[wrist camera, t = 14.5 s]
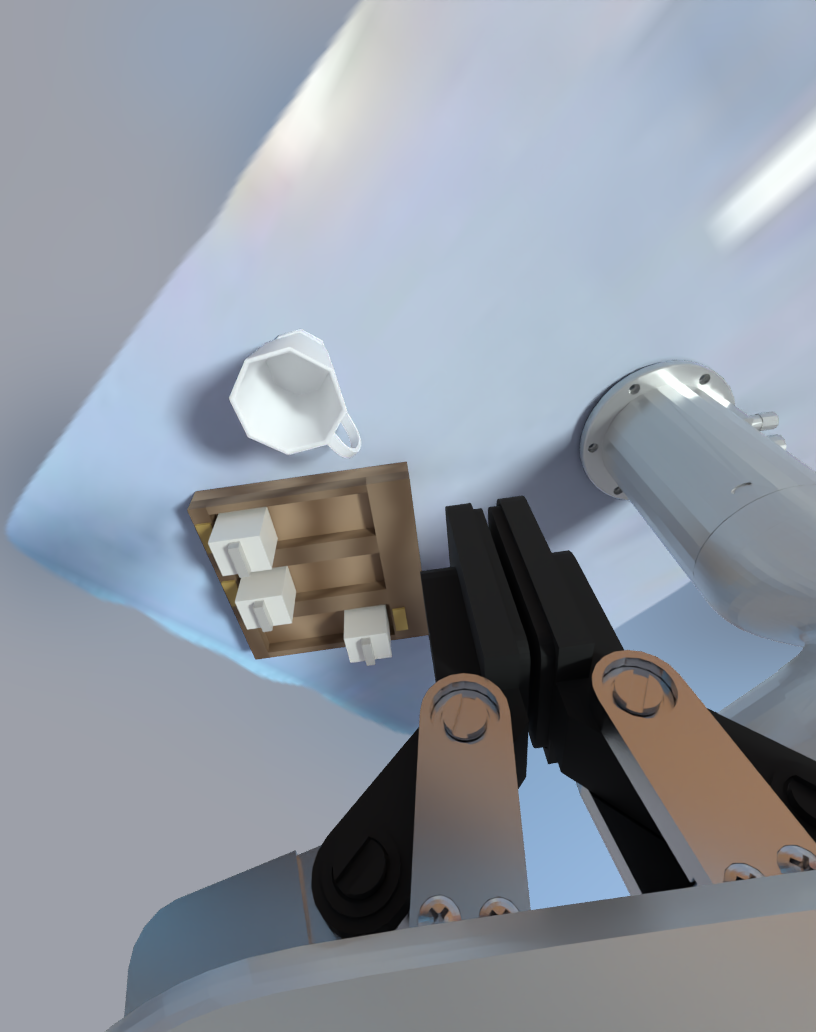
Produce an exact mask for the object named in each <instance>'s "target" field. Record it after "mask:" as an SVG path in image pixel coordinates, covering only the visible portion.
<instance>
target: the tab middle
mask: <svg viewBox="0 0 816 1032" xmlns="http://www.w3.org/2000/svg"><path fill="white" fill-rule="evenodd" d="M295 597H296V589H295V586H294V583H293V580H292V578H291V575H290V572H289V569H288V566H283V567H276V568H272V569H270V570H263V571H255V572H251V573H250V576H249V577H242V578H241V580H240V584H239V588H238V592H237V595H236V599H235V604H236V606H237V608H238V610H239V612H240V615H241V617H242V619H243V621H244V624H245V626H246V628H247V630H248V629H255V628H262V631H263V632H268V631H272V629H273V626H276V625H283V624H290V623H292V620H293V612H294V604H295Z"/></svg>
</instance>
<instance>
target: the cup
mask: <svg viewBox="0 0 816 1032" xmlns="http://www.w3.org/2000/svg"><path fill="white" fill-rule="evenodd" d="M229 400H230V402H231V404H232V406H233V408H234V410H235V412H236V414H237V416H238V418H239V420H240V422H241V424H242V426H243V428H244V430H245V432H246V434H247V436H248V438H251V439H253V440H255V441H257V442H260V443H262V444H264V445H266V446H269V447H271V448H273V449H275V450H278V451H280V452H282V453H284V454H287V455H291V454H294V453H298V452H302V451H306V450H309V449H313V448H317V447H321V446H324V445H328V446H329V447H330V448H331V449H332V450H334V451H335V452H336V453H337V454H338V455H340V456H341V457H343V458H351V457H352V456H354V455H355V454H356V453H358V451H359V450H360V448H361V438H360V435H359V432H358V430H357V428H356V426H355V424H354V422H353V420H352V419H351V417H350V416H349V414H348V412H347V408H346V405H345V402H344V399H343V396H342V393H341V389H340V386H339V383H338V379H337V377H336V374H335V371H334V368H333V365H332V362H331V359H330V356H329V354H328V351H327V349H326V348H325V346H324V343H323V341H322V340H321V339H319V338H317V337H315V336H313V335H311V334H310V333H308V332H306V331H304V330H302V329H298V330H295V331H291V332H288V333H284V334H281V335H278V337H277V339H275V340H272V341H269V342H267V343H265V344H264V345H262V346H261V347H260V348H259V349H258V350H257V351H255V352H254V353H253V354H251V355H250V356H249V357H248V358H246V359H245V361H244V363H243V366H242V368H241V371H240V373H239V375H238V378H237V380H236V382H235V385H234V387H233V390H232V392H231V394H230V397H229ZM340 422H341V423H342V425H343V426H344V428H345V430H346V432H347V434H348V436H349V439H350V443H351V448H349V447H348V446H346V445H345V444H344V443H343V442H342V440H341V439H340V438H339V437H338V436H337V435H336V433H335V431H336V429H337V428H338V426H339V424H340Z"/></svg>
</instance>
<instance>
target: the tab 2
mask: <svg viewBox="0 0 816 1032" xmlns="http://www.w3.org/2000/svg"><path fill="white" fill-rule="evenodd" d="M344 642H345V645H346V649H347V652H348V656H349V659H350V663H353V662H361V661H366V664H367V666H369V665H375V659H382V658H389V657H392V651H391V638H390V625H389V620H388V615H387V610H386V605H378V606H371V607H364V608H357V609H350V610H344Z"/></svg>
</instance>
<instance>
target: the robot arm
mask: <svg viewBox="0 0 816 1032" xmlns="http://www.w3.org/2000/svg"><path fill="white" fill-rule="evenodd" d="M778 423H779V418H778V415H777V414H776V413H775V412H766V413H759V414H755V415H751V416H749V415H747V414H746V413H745V412H743V411H742V410H740V409H739V408H737V407H736V406H735V399H734V396H733V393H732V391H731V388H730V387H729V385H728V384H727V382H726V381H725V380H724V378H722V377H721V376H720V375H719V374H717V373H716V372H715V371H713V370H711V369H710V368H708V367H706V366H704V365H702V364H699V363H695V362H692V361H681V360H673V361H666V362H660V363H656V364H653V365H650V366H647V367H644V368H642V369H640V370H638V371H636V372H634V373H632V374H630V375H628V376H627V377H626V378H624V379H623V380H621V381H620V382H618V383H617V384H616V385H615V386H613V387H612V388H611V389H610V390H609V391H608V392H607V393H606V394H605V395H604V396H603V397H602V398H601V400H600V401H599V402H598V403H597V405H596V406H595V407H594V409H593V410H592V412H591V414H590V416H589V417H588V419H587V421H586V424H585V426H584V429H583V432H582V435H581V442H580V459H581V462H582V466H583V469H584V471H585V472H586V474H587V476H588V477H589V479H590V480H591V481H592V483H593V484H594V485H595V486H596V487H597V488H598V489H599V490H601V491H602V492H604V493H605V494H607V495H609V496H611V497H614V498H618V499H623V500H630V502H631V503H632V504H633V505H634V507H635V508H636V509H637V511H638V512H639V513H640V515H641V516H642V517H643V519H644V520H645V521H646V522H647V524H648V525H649V526H650V528H651V529H652V530H653V532H654V533H655V534H656V536H657V537H658V538H659V540H660V541H661V542H662V543H663V545H664V546H665V547H666V549H667V550H668V551H669V553H670V554H671V555H672V557H673V558H674V559H675V560H676V562H677V563H678V564H679V566H680V567H681V568H682V570H683V571H684V572H685V574H686V575H687V576H688V577H689V579H690V580H691V581H692V583H693V584H694V585H695V587H696V588H697V589H698V590H699V592H700V593H701V594H702V596H703V597H704V598H705V600H706V601H707V602H708V603H709V605H710V606H711V607H712V608H713V609H714V610H715V611H716V612H717V613H718V614H719V615H720V616H721V617H723V618H724V619H725V620H726V621H728V622H729V623H731V624H733V625H734V626H736V627H738V628H739V629H741V630H743V631H746V632H749V633H751V634H754V635H756V636H759V637H762V638H766V639H770V640H773V641H778V642H782V643H786V644H791V645H795V646H801V647H803V650H802V651H801V652H800V653H799V654H798V656H796V657H795V658H794V659H792V660H791V661H790V662H788V663H787V664H786V665H784V666H783V667H782V668H780V669H779V671H778V672H777V673H775V674H774V675H772V676H771V677H769V678H768V679H767V680H765V681H764V682H762V683H761V684H759V685H758V686H756V687H755V688H753V689H752V690H750V691H749V692H748V693H746V694H745V695H743V696H742V697H740V698H739V699H737V700H736V701H734V702H733V703H731V704H730V705H729V706H727V707H726V708H724V709H723V710H721V711H720V712H719V713H716V712H714V711H712V710H710V709H708V708H706V707H705V705H704V704H703V703H702V702H701V700H700V699H699V698H698V697H697V696H696V694H695V693H694V692H693V691H692V689H691V688H690V687H689V686H688V685H687V683H686V682H685V681H684V679H683V678H682V677H681V676H680V674H678V673H677V672H676V671H675V670H674V669H673V668H672V667H671V666H670V665H669V664H668V663H666V662H664V661H663V660H661V659H659V658H658V657H656V656H653V655H650V654H647V653H645V652H641V651H631V650H624V649H623V647H622V645H621V643H620V641H619V639H618V637H617V636H616V634H615V632H614V630H613V628H612V626H611V624H610V622H609V620H608V619H607V617H606V615H605V613H604V611H603V609H602V607H601V605H600V603H599V602H598V600H597V598H596V596H595V594H594V592H593V590H592V588H591V586H590V585H589V583H588V581H587V579H586V577H585V575H584V573H583V571H582V569H581V568H580V566H579V564H578V562H577V560H576V558H575V557H574V555H573V554H572V552H570V551H569V550H568V551H561V552H554V553H551V551H550V549H549V547H548V544H547V542H546V540H545V538H544V536H543V534H542V532H541V530H540V528H539V526H538V524H537V521H536V519H535V517H534V515H533V513H532V511H531V509H530V507H529V505H528V503H527V500H526V499H525V497H524V496H517V497H510V498H503V499H498V500H497V505H496V506H494V507H489V508H488V525H487V522H486V519H485V516H484V513H483V510H482V509H481V508H480V509H473V507H472V505H471V503H467V504H460V505H453V506H446V507H445V511H446V524H447V535H448V547H449V559H450V567H448V568H441V569H434V570H427V571H420V576H421V584H422V591H423V599H424V606H425V613H426V620H427V627H428V633H429V640H430V647H431V653H432V660H433V667H434V673H435V680H436V683H435V684H434V685H433V686H432V687H430V688H429V690H428V691H427V693H426V695H425V696H424V698H423V700H422V704H421V709H420V720H419V728H418V729H417V730H416V731H415V732H414V734H413V735H412V736H411V737H410V738H409V740H408V741H407V742H406V743H405V744H404V745H403V747H402V748H401V749H400V750H399V751H398V753H397V754H396V755H395V756H394V757H393V759H392V760H391V761H390V762H389V764H388V765H387V766H386V767H385V768H384V769H383V771H382V772H381V773H380V774H379V775H378V777H377V778H376V779H375V780H374V781H373V782H372V784H371V785H370V786H369V787H368V788H367V790H366V791H365V792H364V793H363V794H362V796H361V797H360V798H359V799H358V800H357V802H356V803H355V804H354V805H353V806H352V807H351V809H350V810H349V811H348V812H347V814H346V815H345V816H344V817H343V818H342V819H341V821H340V822H339V823H338V824H337V825H336V827H335V828H334V829H333V830H332V831H331V832H330V834H329V835H328V836H327V838H326V839H325V841H324V842H323V844H322V845H321V846H318V847H316V848H314V849H311V850H309V851H306V852H304V853H301V854H299V855H298V854H297V852H296V851H293V852H290V853H288V854H285V855H283V856H280V857H278V858H276V859H273V860H271V861H268V862H266V863H263V864H261V865H259V866H256V867H254V868H251V869H249V870H246V871H244V872H242V873H239V874H237V875H234V876H232V877H229V878H227V879H225V880H222V881H220V882H217V883H215V884H212V885H210V886H207V887H205V888H203V889H200V890H198V891H195V892H193V893H191V894H188V895H186V896H183V897H181V898H178V899H176V900H174V901H173V902H171V903H170V904H168V905H167V906H165V907H163V908H162V909H160V910H159V911H158V912H157V913H156V914H155V916H153V918H152V919H151V920H150V921H149V922H148V923H147V924H146V925H145V927H144V928H143V930H142V932H141V934H140V936H139V938H138V940H137V942H136V943H135V945H134V948H133V952H132V956H131V960H130V964H129V969H128V979H127V992H126V1003H125V1015H124V1018H122V1019H121V1020H120V1021H118V1022H117V1023H115V1024H114V1025H112V1026H111V1027H110V1028H109V1029H108V1030H106V1032H816V472H815V471H814V470H813V469H811V468H810V467H808V466H807V465H806V464H804V463H803V462H801V461H800V460H799V459H797V458H796V457H795V456H793V455H792V454H790V453H789V452H788V451H786V443H785V439H784V438H783V437H782V436H781V435H778V434H776V435H769V436H765V435H764V434H763V433H761V432H760V431H763V430H770V429H774V428H776V427H777V425H778ZM528 732H529V736H530V739H531V742H532V745H533V747H534V748H541V747H543V749H544V752H545V756H546V759H547V762H548V764H551V763H558V764H559V767H560V770H561V772H562V773H563V774H565V775H566V776H568V777H569V778H571V779H573V780H574V781H576V783H577V787H578V790H579V793H580V795H581V797H582V799H583V801H584V803H585V805H586V807H587V809H588V811H589V813H590V815H591V817H592V819H593V821H594V823H595V825H596V827H597V829H598V831H599V833H600V835H601V837H602V839H603V841H604V843H605V845H606V847H607V849H608V851H609V853H610V855H611V857H612V859H613V861H614V863H615V865H616V867H617V869H618V871H619V873H620V875H621V877H622V879H623V881H624V883H625V885H626V887H627V889H628V891H629V893H630V895H631V896H627V897H620V898H613V899H606V900H599V901H592V902H585V903H579V904H571V905H564V906H557V907H550V908H544V909H536V910H531V909H530V900H529V890H528V881H527V871H526V862H525V851H524V842H523V832H522V823H521V813H520V803H519V794H518V789H519V787H520V786H521V784H522V783H523V781H524V779H525V778H526V767H527V747H528Z"/></svg>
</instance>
